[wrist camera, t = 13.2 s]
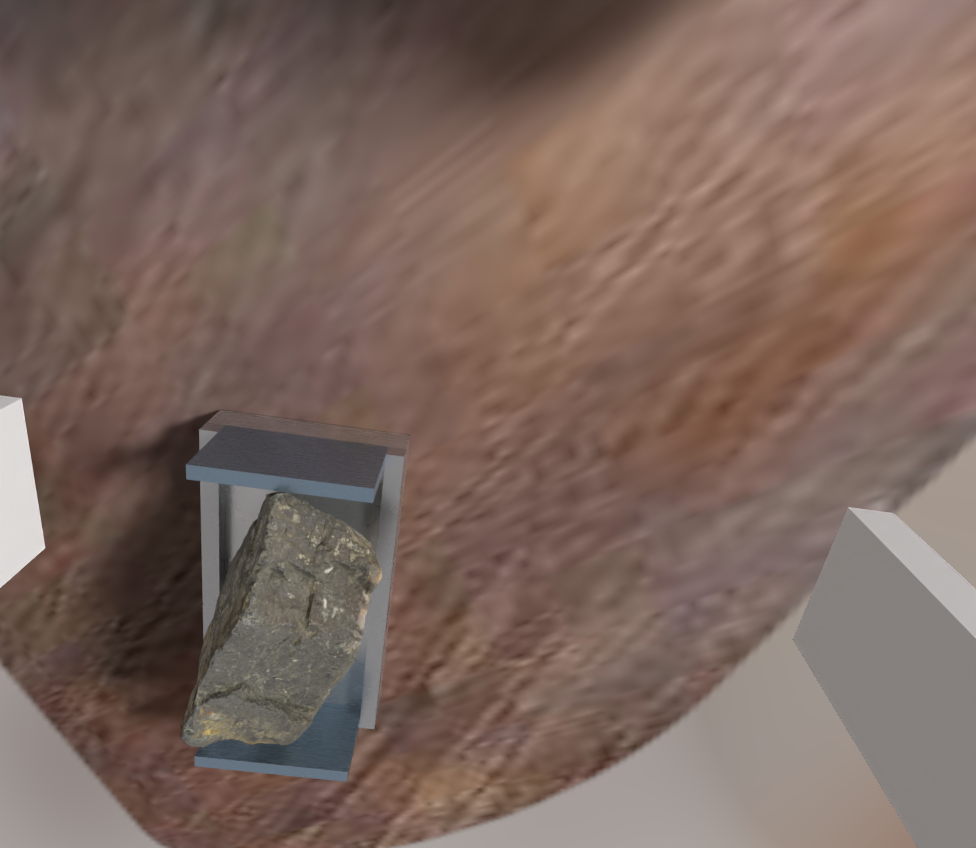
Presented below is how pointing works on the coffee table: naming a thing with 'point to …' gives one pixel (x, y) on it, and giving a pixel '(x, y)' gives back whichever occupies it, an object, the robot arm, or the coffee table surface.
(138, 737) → the coffee table surface
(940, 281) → the coffee table surface
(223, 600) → the rock
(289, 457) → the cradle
